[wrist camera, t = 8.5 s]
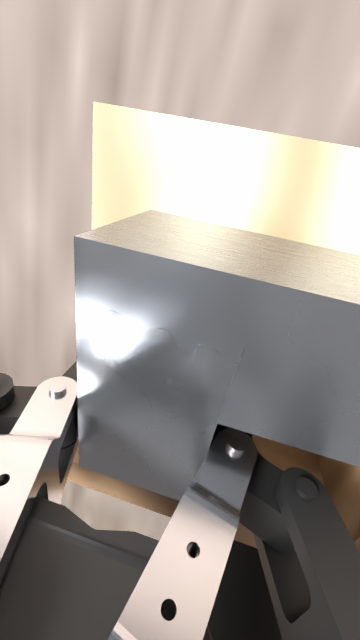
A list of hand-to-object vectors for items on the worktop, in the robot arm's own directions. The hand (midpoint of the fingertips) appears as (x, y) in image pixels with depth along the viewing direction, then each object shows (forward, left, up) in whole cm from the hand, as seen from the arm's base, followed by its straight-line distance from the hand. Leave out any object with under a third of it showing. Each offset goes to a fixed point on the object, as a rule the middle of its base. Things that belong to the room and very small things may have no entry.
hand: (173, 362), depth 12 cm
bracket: (+2, +2, -1) cm, 3 cm away
